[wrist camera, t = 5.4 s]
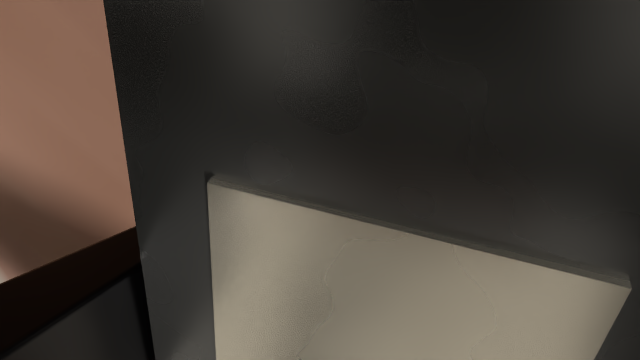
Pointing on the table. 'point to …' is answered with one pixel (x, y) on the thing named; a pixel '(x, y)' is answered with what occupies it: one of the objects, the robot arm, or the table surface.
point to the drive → (384, 176)
